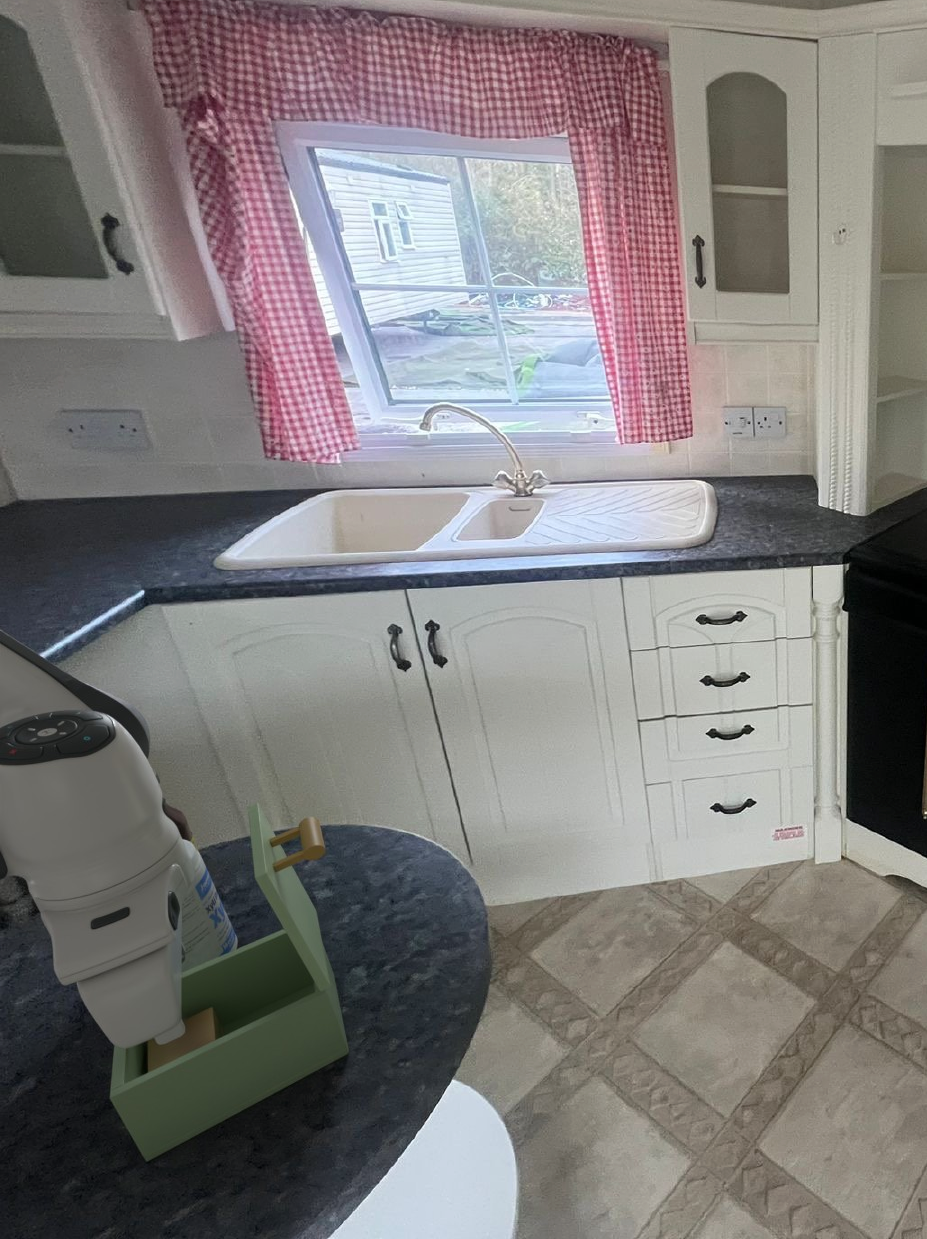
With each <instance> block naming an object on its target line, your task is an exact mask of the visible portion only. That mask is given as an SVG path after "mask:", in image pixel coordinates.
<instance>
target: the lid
mask: <svg viewBox="0 0 927 1239" xmlns="http://www.w3.org/2000/svg"><path fill="white" fill-rule="evenodd" d="M247 815H248V824H249V833H250V834H249V835H250V844H251V855H252V863H253V872H254V879H255V881H256V882H257V884H258V886H259V888H260V889H261V891H262V893H263V895H264V898H266V900H267V902H268V904H269V905H270V907H271V909H272V910H273V912H274V914H275V916H276V917H277V919H278V921H279V923H280V924H281V926H282V928H283V929H285V931H286V933H287V935H288V936H289V938H290V940H291V942H292V943H293V945H294V947H295V949H296V950H297V952H298V954H299V955H300V957H301V959H302V961H303V962H304V964H305V966H306V968H307V969H308V971H309V973H310V975H311V976H312V978H313V980H314V981H315V983H316V985H317V987H318V988H319V990H320V992H321V991H323V990H325V989H327V988H328V987H330V981H329V976H328V971H327V965H326V960H325V955H324V949H323V946H324V943H323V940H322V933H321V928H320V923H319V919H318V918H319V917H318V913H317V909H316V907H315V906H314V904H313V902H312V900H311V898H310V896H309V895H308V893H307V891H306V889H305V887H304V885H303V884H302V881H301V880H300V877H299V876H298V874H297V873H296V871H295V869H294V867H293V866H294V865H297V864H298V863H300V862H302V861H304V860H306V861H317V860H319V859H321V858H322V857H323V856H324V855H325V853H326V846H325V841H324V836H323V832H322V828H321V827H322V826H321V823H320V819H319V818H318V817H316V816H308V817H305V818H304V819H302V820H301V821H300V822H299V823H298V826H296V827H294V828H292V829H290V830H287V831H285V832H282V833H280V834H277V835H276V834H275V832H274V830H273V828H272V826H271V824H270V823H269V820H268V819H267V817H266V815H265V814H264V812H263V810H262V808H261V806H260V804H259V803H258V802H257V803H254V804H251V805H249V806H247ZM298 837H299V838H300V842H301V843H300V844H301V848H302V850H300V851H297V852H295V853H292V854H290V855H288V856H287V854H286V853H285V851H284V848H283V846H282V844H285V843H287V842H289V841H291V840H294V839H296V838H298ZM322 943H323V944H322Z"/></svg>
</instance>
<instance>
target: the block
mask: <svg viewBox="0 0 927 1239" xmlns="http://www.w3.org/2000/svg"><path fill="white" fill-rule="evenodd" d="M223 1036H225V1033H224V1030H223V1028H222V1026H221V1024H220V1022H219V1020H218V1017H217V1015H216V1013H215V1011H214V1009H213V1007H211V1008H208V1009H206V1010H204V1011H202V1012H200V1013H198V1014H196V1015H194V1016H192V1017H190V1018H188V1019H185V1033H184V1034H183V1035H182V1036H181V1037H179V1038H177V1039H174V1040H172V1041H170V1042H168V1043H166V1044H162V1045H159V1044H157V1043H156V1041H155V1039H154V1038H152V1039H150V1040H148V1041H147V1043H148V1073H149V1072H151V1071H153V1070H155V1069H157V1068H159V1067H161V1066H163V1065H165V1064H167V1063H169V1062H172V1061H174V1060H176V1059H178V1058H180V1057H182V1056H184V1055H186V1054H188V1053H190V1052H192V1051H194V1050H196V1049H198V1048H201V1047H203V1046H205V1045H207V1044H209V1043H211V1042H213V1041H215V1040H217V1039H219V1038H221V1037H223Z"/></svg>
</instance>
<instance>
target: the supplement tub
mask: <svg viewBox="0 0 927 1239" xmlns="http://www.w3.org/2000/svg"><path fill="white" fill-rule="evenodd" d="M182 840H183V839H182ZM183 842H184V845H185V847H186V849H187V852H188V854H189V856H190V859H191V861H192V863H193V866H194V868H195V877H194V880H193V882H192V884H191V886H190V887H189V888H188V890H187V893H186V896H185V899H184V901H183V904H182V943H183V945H184V947H185V961H184V962H183V963H182V973H183V972H185V971H187V970H190V969H192V968H194V967H197V966H199V965H201V964H204V963H206V962H208V961H211V960H213V959H215V958H218V957H220V956H222V955H225V954H227V953H229V952H232V951H234V950H236V949H238V942H239V941H238V937H237V935H236V932H235V930H234V928H233V925H232V923H231V921H230V919H229V916H228V913H227V911H226V909H225V907H224V905H223V902H222V900H221V898H220V895H219V893H218V891H217V888H216V886H215V884H214V881H213V879H212V877H211V875H210V872H209V870H208V868H207V865H206V864H205V862H204V859H203V858H202V855H201V854H199V853H200V851H199V850H198V851H199V852H198V851H197V850H196V848H195V846H194V845H193V844H192V843H191V842H190V841H187V840H183Z"/></svg>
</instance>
